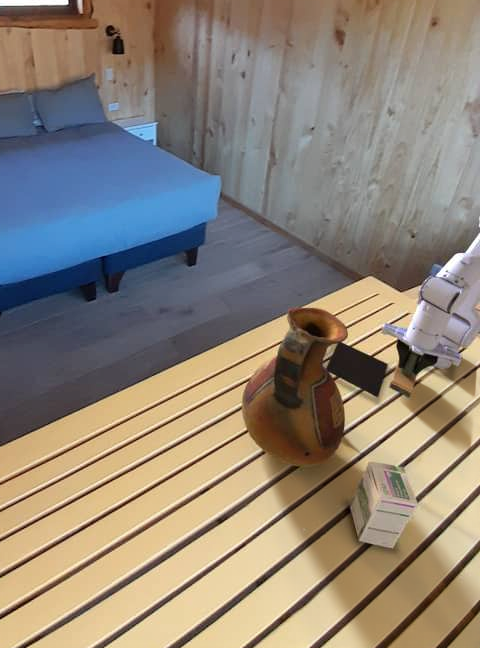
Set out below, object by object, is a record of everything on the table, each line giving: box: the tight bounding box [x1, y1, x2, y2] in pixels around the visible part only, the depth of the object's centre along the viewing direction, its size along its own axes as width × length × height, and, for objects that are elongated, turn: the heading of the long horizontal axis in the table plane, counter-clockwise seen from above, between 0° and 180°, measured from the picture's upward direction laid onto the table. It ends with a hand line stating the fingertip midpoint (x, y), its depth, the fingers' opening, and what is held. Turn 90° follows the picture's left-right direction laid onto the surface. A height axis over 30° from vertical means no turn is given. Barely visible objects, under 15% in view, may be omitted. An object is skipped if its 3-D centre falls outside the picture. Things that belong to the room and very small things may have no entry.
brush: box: [388, 347, 422, 398], centre depth 93 cm, size 9×4×10 cm, turn 138°
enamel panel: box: [325, 342, 389, 398], centre depth 100 cm, size 12×12×2 cm
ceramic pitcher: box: [241, 306, 349, 467], centre depth 81 cm, size 20×20×30 cm
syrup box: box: [349, 461, 419, 549], centre depth 69 cm, size 6×6×14 cm
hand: (407, 368), depth 94 cm, fingers closed on brush, 2 cm apart
